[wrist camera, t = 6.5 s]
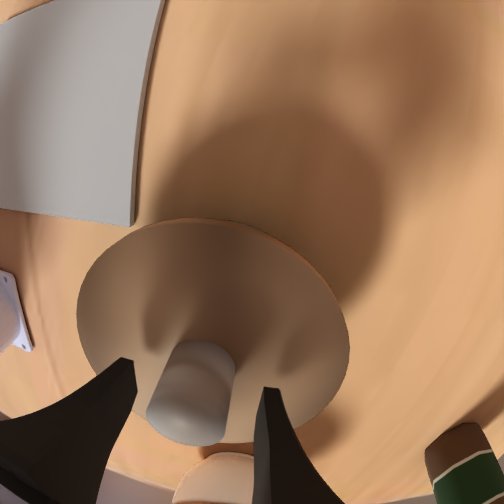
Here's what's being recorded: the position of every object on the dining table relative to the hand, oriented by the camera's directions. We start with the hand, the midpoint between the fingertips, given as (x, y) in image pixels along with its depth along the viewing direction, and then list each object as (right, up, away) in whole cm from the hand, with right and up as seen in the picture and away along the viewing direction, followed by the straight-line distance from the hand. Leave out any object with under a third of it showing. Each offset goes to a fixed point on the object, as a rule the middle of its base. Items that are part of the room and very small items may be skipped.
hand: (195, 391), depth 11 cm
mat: (-11, +15, +2) cm, 19 cm away
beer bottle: (+25, -16, +12) cm, 32 cm away
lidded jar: (+1, -16, +13) cm, 20 cm away
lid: (0, +1, +2) cm, 2 cm away
